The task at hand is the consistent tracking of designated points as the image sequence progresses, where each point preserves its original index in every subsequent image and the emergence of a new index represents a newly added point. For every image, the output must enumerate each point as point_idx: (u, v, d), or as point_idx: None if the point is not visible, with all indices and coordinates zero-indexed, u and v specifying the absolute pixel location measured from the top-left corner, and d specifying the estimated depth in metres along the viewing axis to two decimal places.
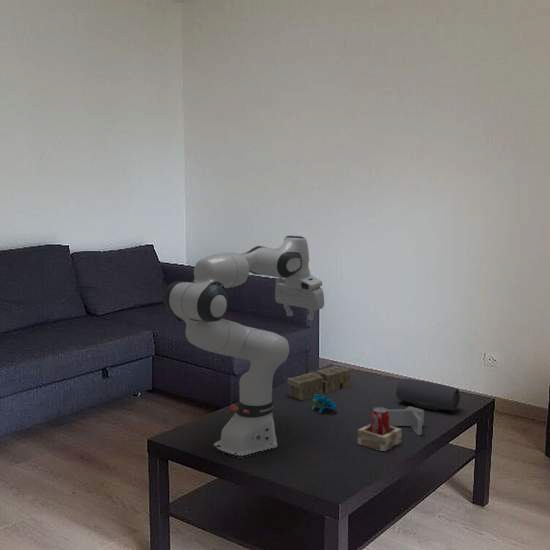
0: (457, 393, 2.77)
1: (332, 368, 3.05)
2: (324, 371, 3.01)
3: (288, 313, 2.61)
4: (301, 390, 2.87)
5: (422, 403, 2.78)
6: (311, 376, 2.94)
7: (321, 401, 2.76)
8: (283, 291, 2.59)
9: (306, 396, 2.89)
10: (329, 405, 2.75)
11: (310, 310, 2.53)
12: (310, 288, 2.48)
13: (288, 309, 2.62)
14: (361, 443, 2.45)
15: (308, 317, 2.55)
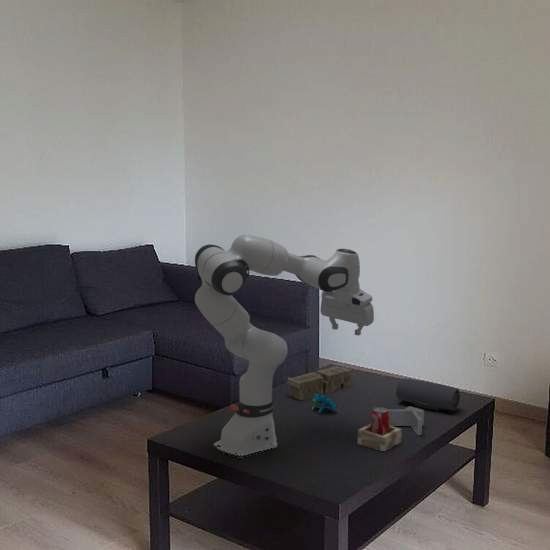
0: (457, 393, 2.77)
1: (333, 368, 3.05)
2: (325, 371, 3.01)
3: (334, 326, 2.57)
4: (301, 390, 2.87)
5: (422, 403, 2.78)
6: (311, 376, 2.94)
7: (321, 401, 2.76)
8: (330, 304, 2.55)
9: (306, 396, 2.89)
10: (329, 405, 2.75)
11: (359, 325, 2.50)
12: (361, 304, 2.44)
13: (334, 322, 2.57)
14: (361, 443, 2.45)
15: (356, 332, 2.51)
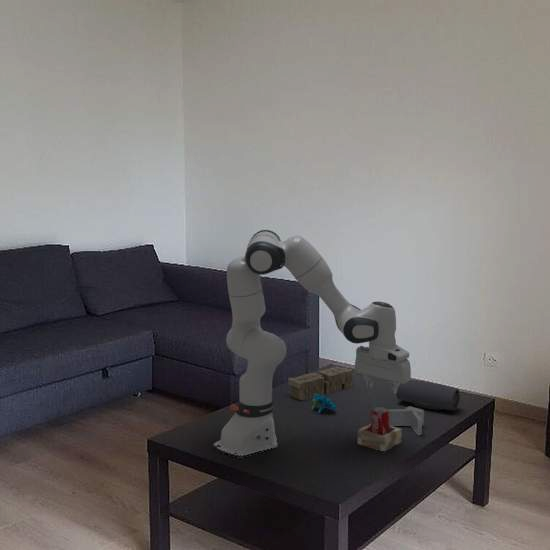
0: (457, 393, 2.77)
1: (334, 369, 3.05)
2: (326, 371, 3.01)
3: (368, 384, 2.45)
4: (302, 390, 2.87)
5: (422, 403, 2.78)
6: (312, 377, 2.93)
7: (320, 401, 2.76)
8: (365, 360, 2.44)
9: (307, 396, 2.89)
10: (328, 405, 2.75)
11: (395, 383, 2.38)
12: (398, 360, 2.33)
13: (368, 380, 2.46)
14: (361, 443, 2.45)
15: (392, 390, 2.39)
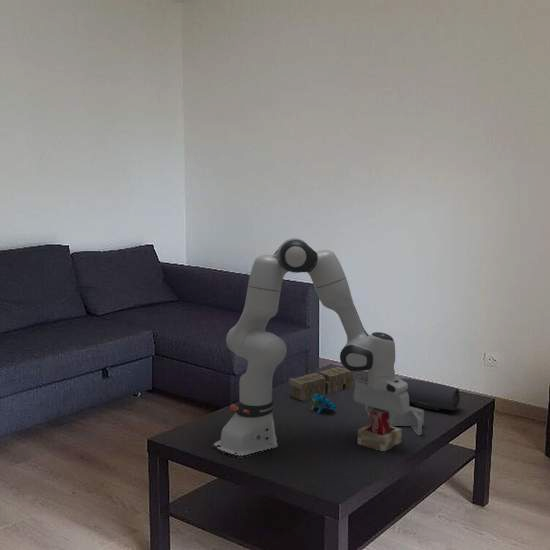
0: (457, 393, 2.77)
1: (335, 369, 3.04)
2: (327, 372, 3.00)
3: (369, 415, 2.46)
4: (303, 390, 2.86)
5: (422, 403, 2.78)
6: (313, 377, 2.93)
7: (320, 401, 2.76)
8: (364, 391, 2.46)
9: (308, 397, 2.88)
10: (328, 405, 2.75)
11: (391, 413, 2.40)
12: (397, 391, 2.35)
13: (369, 410, 2.47)
14: (361, 443, 2.45)
15: (388, 420, 2.41)
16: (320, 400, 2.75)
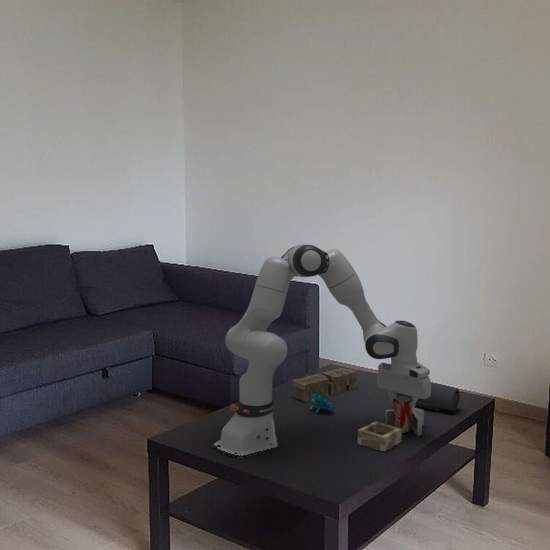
0: (457, 393, 2.77)
1: (338, 370, 3.03)
2: (330, 373, 2.99)
3: (392, 400, 2.56)
4: (306, 391, 2.85)
5: (422, 403, 2.78)
6: (316, 378, 2.92)
7: (319, 401, 2.76)
8: (386, 377, 2.56)
9: (311, 398, 2.87)
10: (326, 406, 2.75)
11: (413, 398, 2.50)
12: (419, 377, 2.45)
13: (392, 395, 2.57)
14: (361, 443, 2.45)
15: (410, 405, 2.52)
16: (318, 400, 2.75)
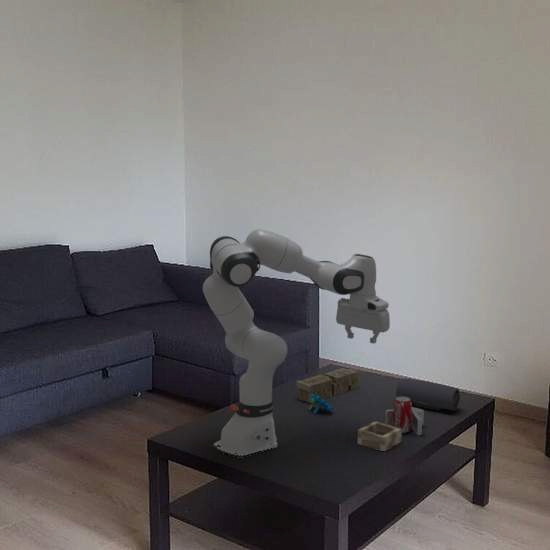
0: (457, 393, 2.77)
1: (340, 370, 3.03)
2: (332, 373, 2.98)
3: (349, 335, 2.53)
4: (311, 392, 2.84)
5: (422, 403, 2.78)
6: (320, 379, 2.91)
7: (318, 401, 2.76)
8: (346, 312, 2.52)
9: None
10: (325, 406, 2.74)
11: (374, 332, 2.45)
12: (377, 309, 2.41)
13: (349, 331, 2.54)
14: (361, 443, 2.45)
15: (371, 340, 2.47)
16: (317, 400, 2.75)
